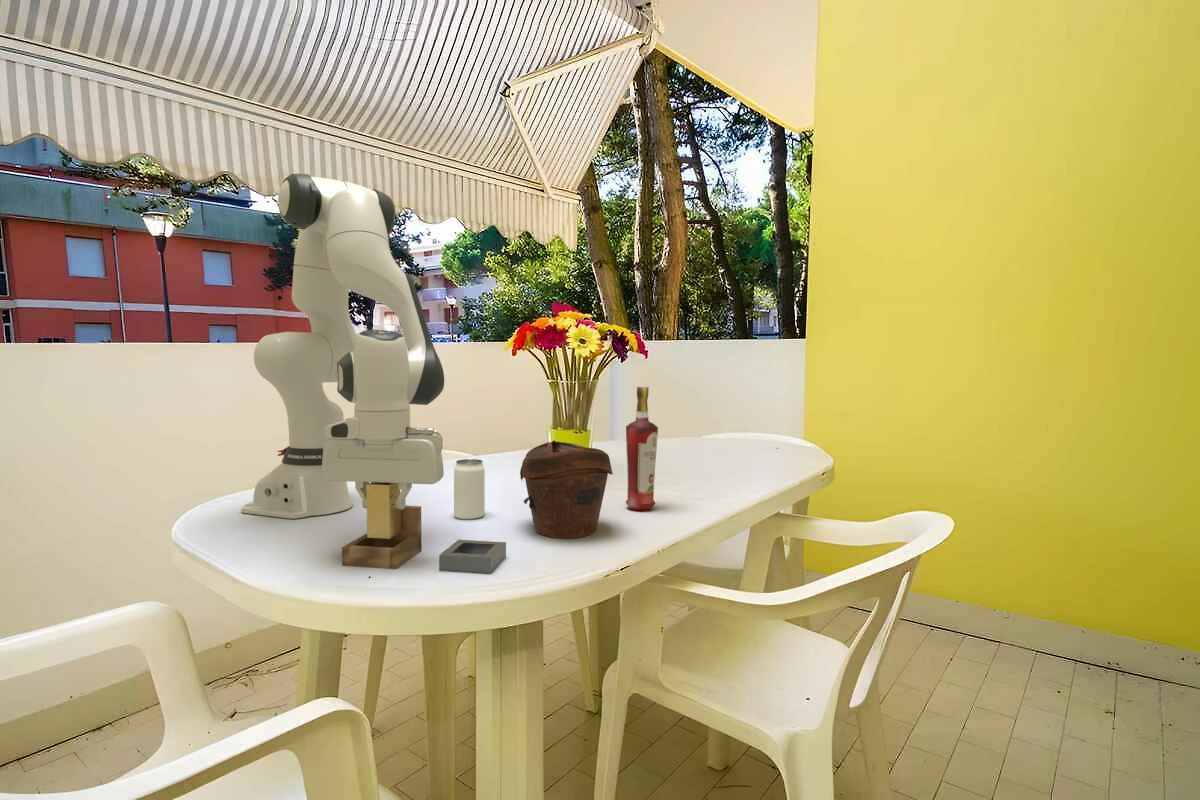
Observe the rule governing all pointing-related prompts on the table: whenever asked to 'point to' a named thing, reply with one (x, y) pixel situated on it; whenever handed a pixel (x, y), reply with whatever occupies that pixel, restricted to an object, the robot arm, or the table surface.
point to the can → (469, 489)
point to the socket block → (472, 556)
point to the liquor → (641, 456)
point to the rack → (387, 544)
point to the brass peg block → (382, 510)
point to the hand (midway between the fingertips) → (384, 508)
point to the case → (565, 488)
